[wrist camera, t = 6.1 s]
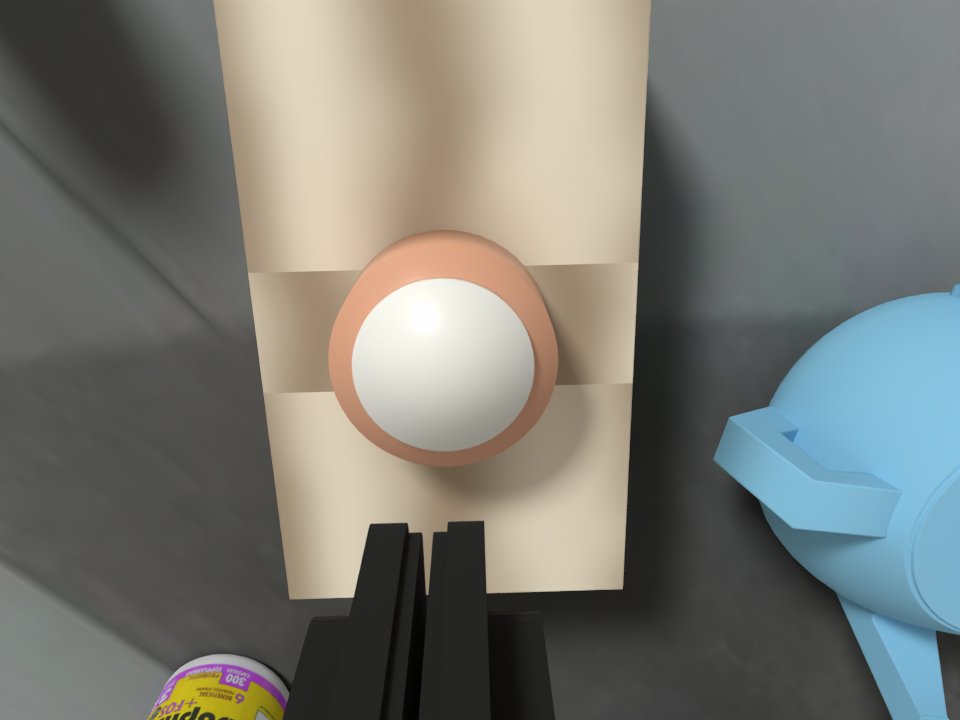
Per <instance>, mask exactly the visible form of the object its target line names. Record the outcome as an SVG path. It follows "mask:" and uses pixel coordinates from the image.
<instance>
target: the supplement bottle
mask: <svg viewBox="0 0 960 720" xmlns="http://www.w3.org/2000/svg"><path fill="white" fill-rule="evenodd" d="M288 697H289V692H288V690H287V688H286V686H285V685H284V683H283V682H282V681H281V679H280V678H279V677H278V676H277V675H276V674H275V673H274V672H273V671H272V670H270V669H269V668H268V667H266V666H265V665H263V664H261V663H259V662H257V661H255V660H252V659H250V658H247V657H244V656H238V655H232V654H216V655H209V656H204V657H201V658H197V659H195V660H193V661H191V662H189V663H187V664H185V665H184V666H182V667H181V668H179V669H178V670H177V671H176V672H175V673H174V674H173V675H172V676H171V677H170V679H169V680H168V681H167V683H166V684H165V686H164V688H163V690H162V692H161V694H160V696H159V698H158V700H157V702H156V704H155V705H154V707H153V709H152V711H151V713H150V715H149V717H148V719H147V720H282V718H283V715H284V711H285V708H286V704H287V701H288Z"/></svg>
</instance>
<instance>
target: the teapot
mask: <svg viewBox="0 0 960 720" xmlns="http://www.w3.org/2000/svg"><path fill="white" fill-rule="evenodd" d="M713 461H714V462H716V463H717V464H718V465H719V466H720V467H721V468H723V469H724V470H725V471H726V472H727V473H728V474H730V475H731V476H732V477H733V478H734V479H735V480H737V481H738V482H739V483H740V484H741V485H742V486H744V487H745V488H746V489H747V490H748V491H749V492H751V493H752V494H753V495H754V496H755V497H756V498H758V499H759V501H760V504H761V507H762V510H763V512H764V515H765V518H766V520H767V521H768V523H769V525H770V527H771V529H772V530H773V532H774V534H775V535H776V536H777V537H778V539H779V540H780V541H781V543H782V544H783V545H784V546H785V548H786V549H787V550H788V552H789V553H790V554H791V555H792V556H793V557H794V558H795V559H796V560H797V561H798V562H799V563H800V564H801V565H802V566H803V567H804V568H805V569H807V570H808V571H809V572H810V573H811V574H812V575H813V576H815V577H816V578H817V579H818V580H820V581H821V582H823V583H824V584H826V585H827V586H828V587H830V588H831V589H833V590H834V591H835V592H836V594H837V597H838V599H839V601H840V603H841V605H842V608H843V610H844V612H845V614H846V617H847V619H848V621H849V623H850V626H851V628H852V630H853V632H854V635H855V637H856V639H857V641H858V643H859V646H860V648H861V650H862V652H863V655H864V657H865V659H866V661H867V664H868V666H869V668H870V670H871V673H872V675H873V677H874V679H875V681H876V684H877V686H878V688H879V690H880V693H881V695H882V697H883V699H884V702H885V704H886V706H887V708H888V711H889V713H890V715H891V717H892V719H893V720H949V719H948V717H947V713H946V705H945V698H944V690H943V683H942V675H941V668H940V660H939V653H938V645H937V638H936V630H938V631H942V632H947V633H952V634H957V635H960V283H958V284H955V285H954V287H953V289H952V291H951V292H943V293H928V294H922V295H915V296H909V297H904V298H900V299H897V300H893V301H890V302H886V303H883V304H880V305H878V306H875V307H873V308H871V309H868V310H866V311H863V312H861V313H859V314H858V315H856V316H854V317H852V318H850V319H848V320H847V321H845V322H843V323H841V324H840V325H839V326H837V327H836V328H834V329H833V330H831V331H830V332H828V333H827V334H826V335H824V336H823V337H822V338H821V339H820V340H819V341H817V342H816V343H815V344H814V345H813V346H812V347H810V348H809V349H808V350H807V351H806V352H805V353H804V355H803V356H802V357H801V358H800V359H799V360H798V361H797V362H796V363H795V364H794V365H793V367H792V368H791V370H790V371H789V372H788V374H787V375H786V376H785V378H784V379H783V381H782V382H781V383H780V385H779V387H778V389H777V391H776V392H775V394H774V396H773V398H772V400H771V401H770V404H769V406H768V407H765V408H762V409H758V410H754V411H750V412H747V413H743V414H739V415H736V416H732V417H729V420H728V422H727V425H726V427H725V430H724V433H723V435H722V438H721V441H720V443H719V446H718V448H717V451H716V454H715V456H714V459H713Z"/></svg>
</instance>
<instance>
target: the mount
mask: <svg viewBox="0 0 960 720" xmlns="http://www.w3.org/2000/svg"><path fill="white" fill-rule="evenodd" d="M650 7H651V0H214V8H215V16H216V24H217V32H218V40H219V47H220V55H221V63H222V71H223V79H224V87H225V95H226V102H227V110H228V118H229V126H230V134H231V142H232V149H233V157H234V165H235V173H236V181H237V189H238V197H239V204H240V212H241V220H242V228H243V236H244V244H245V251H246V259H247V267H248V275H249V283H250V291H251V299H252V306H253V314H254V322H255V330H256V338H257V346H258V353H259V361H260V369H261V377H262V385H263V393H264V400H265V408H266V416H267V424H268V432H269V440H270V448H271V455H272V463H273V471H274V479H275V487H276V495H277V502H278V510H279V518H280V526H281V534H282V542H283V550H284V557H285V565H286V573H287V581H288V589H289V597H290V599H314V598H347V597H354V593H355V589H356V584H357V579H358V575H359V570H360V566H361V561H362V557H363V552H364V547H365V543H366V538H367V534H368V529H369V526H370V524H377V523H408V527H409V533H413V532H422V535H423V549H424V566H425V584H426V595H428V592H429V580H430V567H431V554H432V541H433V532H447V525H448V522H452V521H484V529H485V560H486V590H487V593H511V592H544V591H577V590H610V589H623V575H624V554H625V533H626V512H627V491H628V470H629V449H630V428H631V407H632V386H633V365H634V344H635V323H636V302H637V281H638V260H639V239H640V218H641V196H642V175H643V154H644V133H645V112H646V91H647V70H648V49H649V28H650ZM435 230H457V231H462V232H468V233H472V234H475V235H479V236H482V237H484V238H487V239H489V240H491V241H493V242H495V243H497V244H499V245H500V246H502V247H503V248H505V249H506V250H508V251H509V252H510V253H511V254H513V255H514V256H515V257H516V258H517V259H518V260H519V261H520V262H521V263H522V264H523V265H524V266H525V267H526V268H527V270H528V271H529V273H530V274H531V276H532V277H533V278H534V280H535V282H536V284H537V286H538V288H539V290H540V292H541V295H542V298H543V301H544V304H545V306H546V309H547V312H548V315H549V318H550V321H551V324H552V327H553V329H554V332H555V337H556V342H557V347H558V371H557V378H556V383H555V387H554V390H553V393H552V396H551V398H550V401H549V403H548V405H547V407H546V409H545V411H544V413H543V414H542V416H541V417H540V418H539V420H538V421H537V423H536V424H535V425H534V426H533V428H532V429H531V430H530V431H529V432H528V433H527V434H526V435H525V436H524V437H523V438H521V439H520V440H519V441H518V442H517V443H515V444H514V445H513V446H511V447H509V448H508V449H506V450H505V451H503V452H501V453H499V454H497V455H495V456H493V457H491V458H488V459H485V460H482V461H479V462H476V463H472V464H467V465H462V466H450V467H440V466H428V465H421V464H417V463H413V462H409V461H406V460H403V459H401V458H398V457H396V456H393V455H391V454H389V453H387V452H386V451H384V450H382V449H380V448H379V447H377V446H376V445H375V444H373V443H372V442H370V441H369V440H368V439H367V438H366V437H364V436H363V435H362V434H361V433H360V432H359V431H358V430H357V429H356V428H355V426H354V425H353V424H352V423H351V422H350V420H349V419H348V418H347V416H346V414H345V413H344V411H343V410H342V408H341V406H340V404H339V402H338V400H337V398H336V396H335V393H334V389H333V386H332V383H331V378H330V372H329V360H328V352H329V343H330V337H331V333H332V329H333V326H334V323H335V321H336V318H337V316H338V314H339V311H340V309H341V308H342V306H343V304H344V302H345V300H346V298H347V296H348V294H349V293H350V291H351V289H352V287H353V285H354V283H355V282H356V280H357V278H358V277H359V275H360V273H361V272H362V271H363V269H364V268H365V267H366V266H367V264H368V263H369V262H370V261H371V260H372V259H373V258H374V257H375V256H376V255H377V254H378V253H380V252H381V251H383V250H384V249H385V248H387V247H388V246H390V245H391V244H393V243H395V242H397V241H399V240H401V239H403V238H406V237H408V236H411V235H414V234H418V233H422V232H427V231H435Z"/></svg>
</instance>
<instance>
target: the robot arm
mask: <svg viewBox="0 0 960 720" xmlns="http://www.w3.org/2000/svg"><path fill="white" fill-rule="evenodd" d="M282 720H555V715H554V707H553V700H552V692H551V684H550V677H549V669H548V661H547V654H546V646H545V639H544V631H543V623H542V617H541V612H540V611H512V612H487V590H486V560H485V529H484V521H452V522H448V525H447V532H433V541H432V554H431V567H430V580H429V592H428V605H427V602H426V584H425V566H424V549H423V535H422V532H413V533H409V527H408V523H377V524H370V526H369V529H368V534H367V538H366V543H365V547H364V552H363V557H362V561H361V566H360V570H359V575H358V579H357V584H356V589H355V593H354V598H353V602H352V607H351V612H350V616H326V617H314V618H313V619H312V620H311V622H310V625H309V628H308V631H307V635H306V638H305V642H304V645H303V649H302V652H301V656H300V659H299V663H298V666H297V670H296V673H295V676H294V680H293V683H292V687H291V690H290V694H289V697H288V701H287V704H286V708H285V711H284V715H283V718H282Z"/></svg>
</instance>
